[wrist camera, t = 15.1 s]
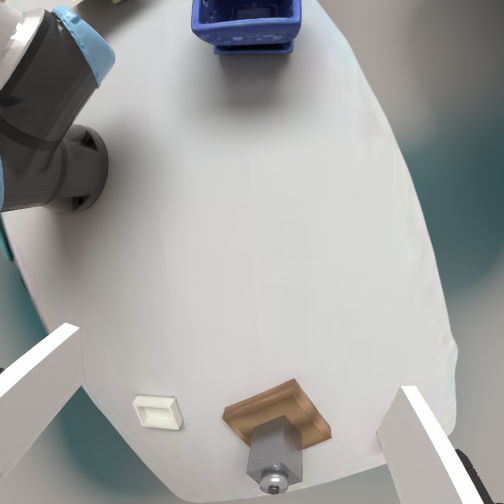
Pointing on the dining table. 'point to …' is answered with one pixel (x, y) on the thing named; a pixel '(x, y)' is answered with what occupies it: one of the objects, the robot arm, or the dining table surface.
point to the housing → (276, 455)
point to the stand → (279, 414)
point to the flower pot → (247, 25)
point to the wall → (75, 0)
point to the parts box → (158, 411)
